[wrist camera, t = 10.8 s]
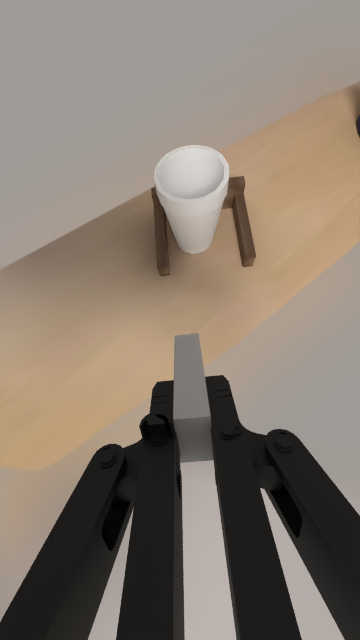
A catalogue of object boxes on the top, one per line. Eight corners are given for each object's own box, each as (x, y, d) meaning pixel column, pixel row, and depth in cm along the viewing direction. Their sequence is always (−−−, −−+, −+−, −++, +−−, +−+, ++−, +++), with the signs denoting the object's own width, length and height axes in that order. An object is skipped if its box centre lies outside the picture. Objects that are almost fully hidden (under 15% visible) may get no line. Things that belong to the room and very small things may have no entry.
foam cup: (171, 214, 46) (159, 144, 33) (223, 216, 45) (230, 144, 32) (164, 260, 43) (149, 202, 31) (220, 263, 42) (227, 204, 30)
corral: (160, 276, 42) (155, 259, 37) (156, 210, 46) (151, 188, 42) (252, 265, 41) (258, 247, 36) (239, 199, 45) (243, 176, 41)
